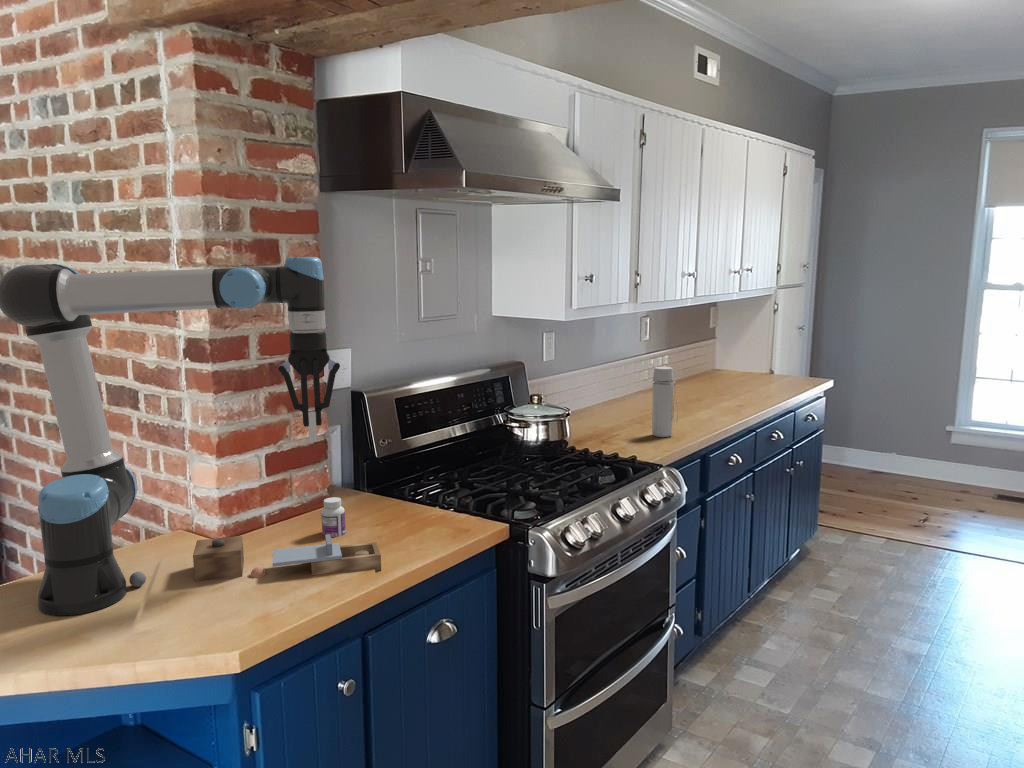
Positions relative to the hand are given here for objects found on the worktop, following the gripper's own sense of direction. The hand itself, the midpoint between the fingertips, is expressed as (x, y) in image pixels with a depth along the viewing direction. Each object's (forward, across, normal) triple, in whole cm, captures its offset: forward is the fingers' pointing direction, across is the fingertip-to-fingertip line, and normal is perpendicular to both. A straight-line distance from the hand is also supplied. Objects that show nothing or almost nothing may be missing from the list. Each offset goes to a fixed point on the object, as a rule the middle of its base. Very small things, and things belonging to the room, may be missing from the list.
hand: (313, 440), depth 170 cm
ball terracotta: (+25, -12, -10) cm, 29 cm away
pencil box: (+26, +5, -9) cm, 28 cm away
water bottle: (+27, +127, +84) cm, 155 cm away
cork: (+26, +8, -9) cm, 29 cm away
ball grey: (+25, -36, -4) cm, 44 cm away
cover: (+26, -20, -5) cm, 34 cm away
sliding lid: (+22, -3, -9) cm, 24 cm away
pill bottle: (+27, +4, +11) cm, 29 cm away
